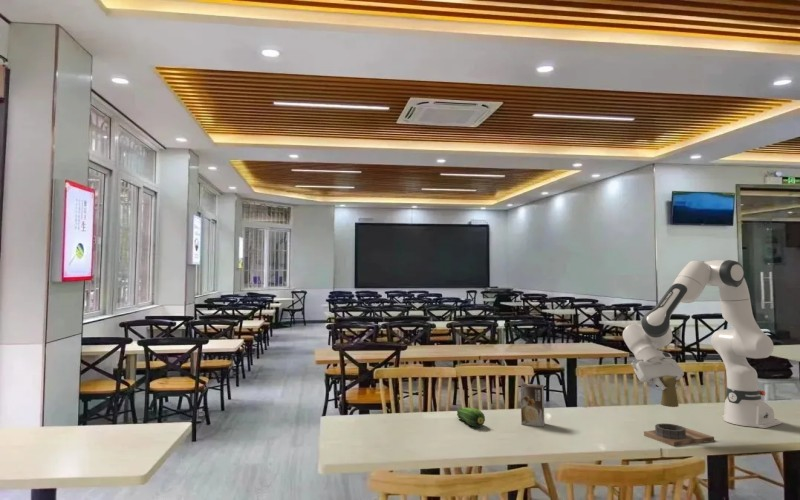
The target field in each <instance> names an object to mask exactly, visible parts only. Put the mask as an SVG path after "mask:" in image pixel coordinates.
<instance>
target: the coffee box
mask: <svg viewBox="0 0 800 500" xmlns="http://www.w3.org/2000/svg"><path fill="white" fill-rule="evenodd" d="M544 394H545V393H544V385H543V384H533V383H522V384H521V386H520V408H521V409H520V413H521V414H520V416H521V417H520V419H521V421H520V422H521V425H523V426H532V427H544V426H545V397H544V396H545V395H544Z"/></svg>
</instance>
